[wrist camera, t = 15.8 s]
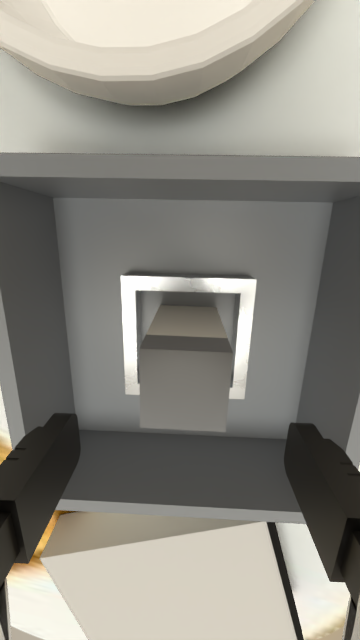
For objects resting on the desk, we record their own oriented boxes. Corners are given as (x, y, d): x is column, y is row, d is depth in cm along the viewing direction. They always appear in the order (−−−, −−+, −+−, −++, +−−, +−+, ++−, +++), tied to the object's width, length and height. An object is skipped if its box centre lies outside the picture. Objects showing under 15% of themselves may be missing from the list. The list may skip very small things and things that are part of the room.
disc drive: (289, 586, 32) (306, 646, 28) (114, 610, 35) (102, 668, 30) (261, 471, 28) (275, 520, 23) (61, 509, 30) (37, 559, 26)
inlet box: (44, 184, 20) (-44, 152, 13) (342, 189, 20) (439, 158, 12) (71, 430, 27) (23, 507, 19) (298, 441, 26) (343, 525, 18)
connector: (160, 305, 22) (139, 348, 13) (216, 307, 22) (233, 352, 13) (159, 356, 23) (140, 427, 14) (212, 359, 23) (225, 432, 14)
